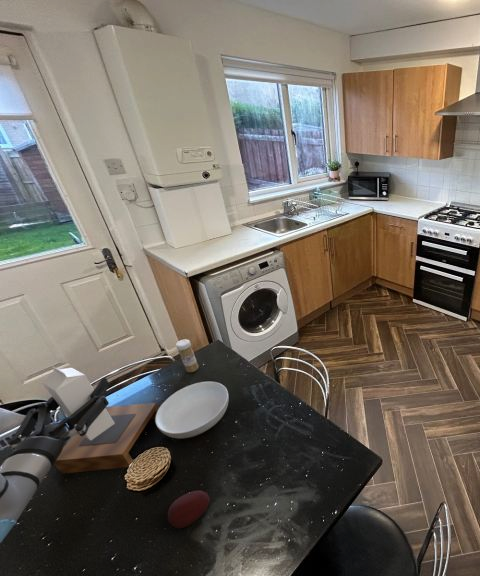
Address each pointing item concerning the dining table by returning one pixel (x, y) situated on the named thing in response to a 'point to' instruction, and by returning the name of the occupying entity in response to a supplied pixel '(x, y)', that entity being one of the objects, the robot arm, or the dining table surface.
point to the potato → (188, 509)
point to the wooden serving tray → (107, 441)
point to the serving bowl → (192, 410)
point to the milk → (75, 397)
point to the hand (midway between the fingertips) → (86, 384)
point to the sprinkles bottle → (187, 355)
